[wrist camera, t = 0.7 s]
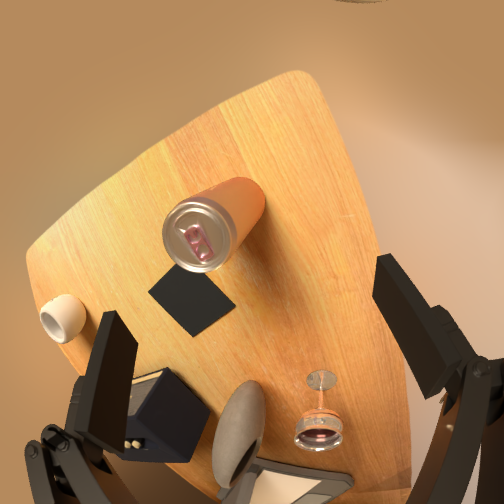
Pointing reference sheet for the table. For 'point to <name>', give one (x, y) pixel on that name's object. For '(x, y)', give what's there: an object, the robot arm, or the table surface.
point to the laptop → (285, 485)
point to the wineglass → (319, 419)
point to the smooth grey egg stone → (238, 434)
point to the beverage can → (212, 224)
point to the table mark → (190, 299)
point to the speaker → (162, 419)
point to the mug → (63, 318)
